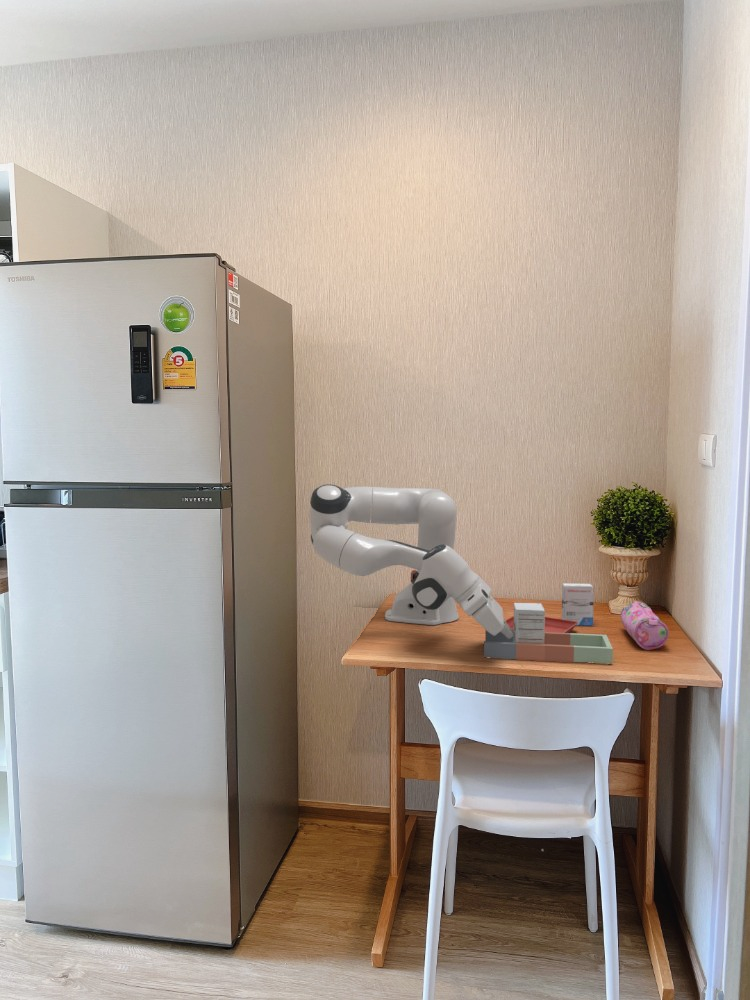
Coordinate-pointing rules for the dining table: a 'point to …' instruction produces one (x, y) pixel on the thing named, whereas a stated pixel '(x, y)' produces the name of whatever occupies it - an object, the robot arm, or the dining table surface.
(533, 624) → the supplement box
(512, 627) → the plant saucer
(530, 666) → the dining table surface
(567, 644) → the channel
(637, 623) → the pencil case
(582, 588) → the ink box
